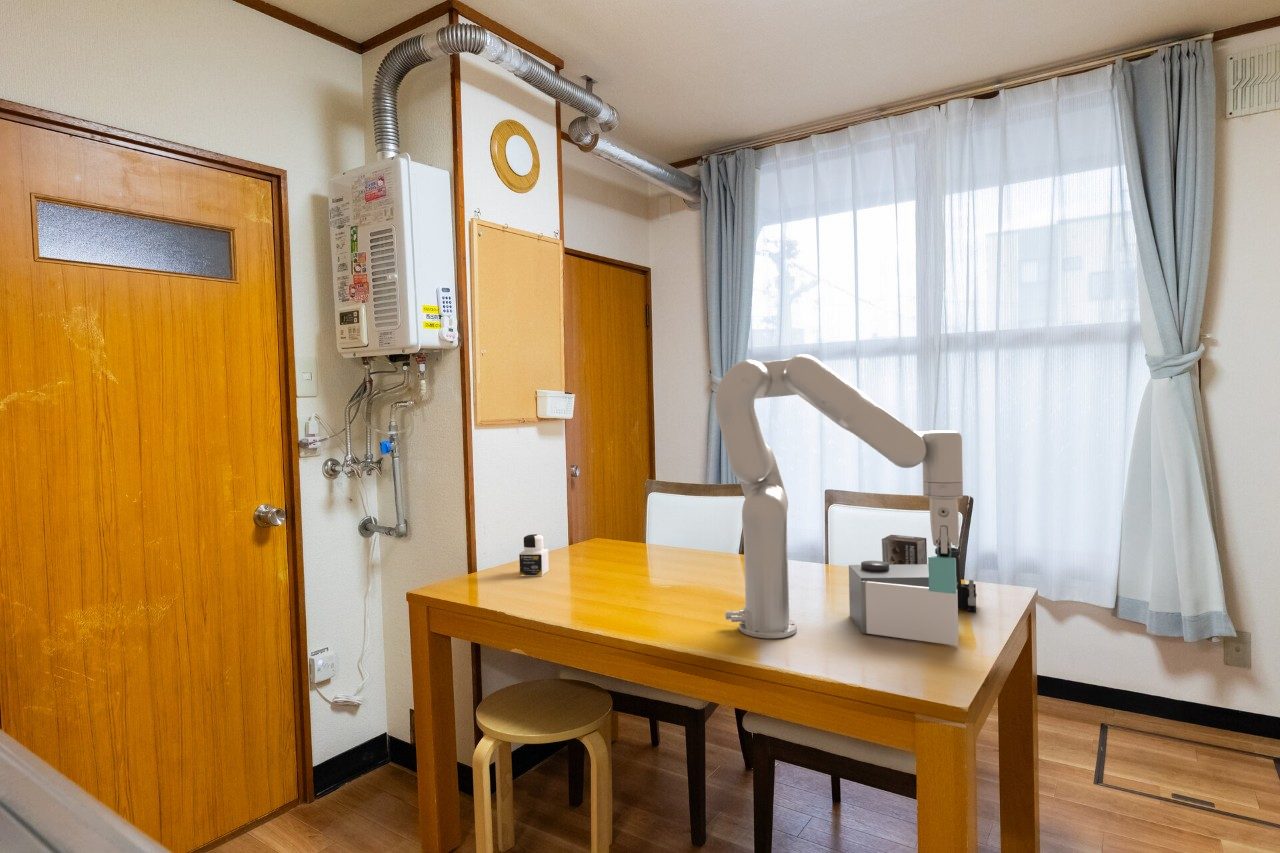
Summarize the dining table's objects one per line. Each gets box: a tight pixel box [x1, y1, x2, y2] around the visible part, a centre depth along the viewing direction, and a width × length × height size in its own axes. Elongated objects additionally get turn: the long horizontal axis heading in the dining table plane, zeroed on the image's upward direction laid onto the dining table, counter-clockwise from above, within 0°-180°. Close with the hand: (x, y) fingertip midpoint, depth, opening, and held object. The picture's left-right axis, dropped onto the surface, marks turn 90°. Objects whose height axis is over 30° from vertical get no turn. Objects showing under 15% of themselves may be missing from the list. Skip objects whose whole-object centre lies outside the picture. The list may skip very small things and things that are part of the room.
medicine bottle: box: [518, 533, 550, 577], centre depth 207 cm, size 7×7×12 cm
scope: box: [934, 547, 978, 613], centre depth 161 cm, size 8×14×10 cm
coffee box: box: [881, 534, 928, 565], centre depth 166 cm, size 9×6×16 cm
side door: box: [860, 555, 959, 646], centre depth 139 cm, size 19×1×18 cm, turn 60°
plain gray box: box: [848, 560, 957, 631], centre depth 150 cm, size 20×12×13 cm, turn 85°
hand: (944, 577), depth 139 cm, fingers closed
